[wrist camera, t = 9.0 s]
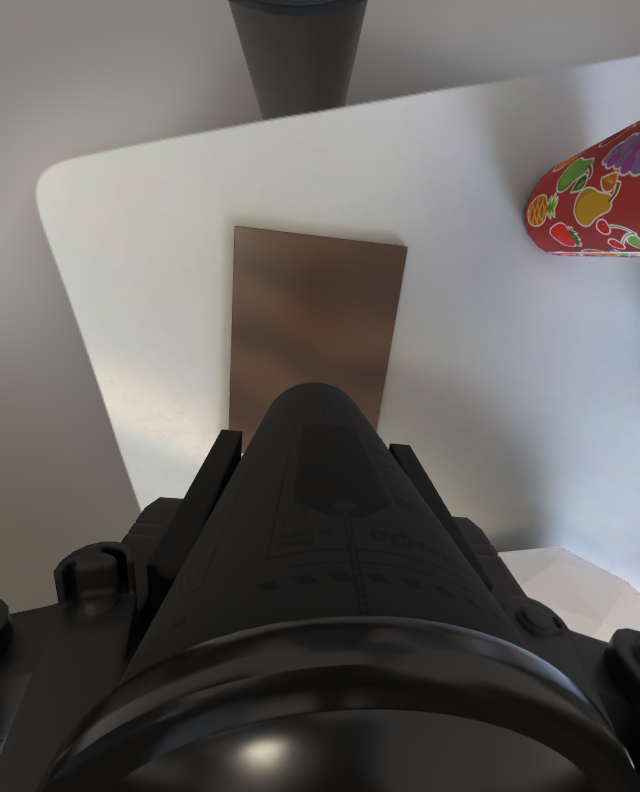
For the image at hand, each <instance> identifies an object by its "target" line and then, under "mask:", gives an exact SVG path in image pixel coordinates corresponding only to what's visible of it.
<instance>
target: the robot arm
mask: <svg viewBox="0 0 640 792" xmlns="http://www.w3.org/2000/svg"><path fill="white" fill-rule="evenodd" d="M389 451H390V452H391V454H392V455H393V457H394V458H395V459H396V461H397V462H398V464H399V465H400V466H401V468H402V469H403V471H404V472H405V473H406V475H407V476H408V478H409V479H410V480H411V482H412V483H413V485H414V486H415V487H416V489H417V490H418V492H419V493H420V494H421V496H422V497H423V499H424V500H425V501H426V503H427V504H428V506H429V507H430V509H431V510H432V511H433V513H434V514H435V516H436V517H437V518H438V520H439V521H440V523H441V524H442V525H443V527H444V528H445V530H446V531H447V532H448V534H449V535H450V537H451V538H452V539H453V541H454V542H455V544H456V545H457V546H458V548H459V549H460V551H461V552H462V553H463V555H464V556H465V558H466V559H467V560H468V562H469V563H470V565H471V566H472V567H473V569H474V570H475V572H476V573H477V574H478V576H479V577H480V579H481V580H482V582H483V583H484V584H485V586H486V587H487V589H488V590H489V591H490V593H491V594H492V596H493V597H494V598H495V600H496V601H497V603H498V604H499V605H500V607H501V608H502V610H503V611H504V612H505V614H506V615H507V617H508V618H509V619H510V621H511V622H512V624H513V625H514V626H515V628H516V629H517V631H518V632H519V633H520V635H521V636H522V638H523V639H524V640H525V642H526V643H527V645H528V646H529V648H530V649H531V650H532V652H533V653H534V655H536V656H538V657H539V658H541V659H543V660H544V661H546V662H548V663H549V664H551V665H552V666H554V667H555V668H556V669H558V670H559V671H560V672H561V673H563V674H564V675H565V676H567V677H568V678H569V679H570V680H571V681H573V682H574V683H575V684H576V685H577V686H578V687H580V689H581V690H582V691H583V692H584V693H585V694H586V695H587V696H588V697H589V698H590V699H591V700H592V701H593V702H594V703H595V705H596V706H597V708H598V709H599V710H600V712H601V713H602V714H603V716H604V717H605V719H606V720H607V721H608V723H609V724H610V726H611V727H612V729H613V730H614V731H615V733H616V734H617V736H618V737H619V739H620V740H621V742H622V743H623V745H624V747H625V748H626V750H627V752H628V754H629V756H630V758H631V760H632V762H633V764H634V767H635V770H636V773H637V776H638V779H639V783H640V631H637V630H633V629H629V628H624V629H617V630H616V632H615V633H614V634H613V635H612V637H611V639H610V641H609V643H608V642H605V641H602V640H599V639H596V638H592V637H589V636H586V635H583V634H580V633H577V632H574V631H572V630H569V629H568V627H567V626H566V624H565V623H564V621H563V620H562V619H561V618H560V617H559V616H558V615H557V614H556V613H555V612H554V611H553V610H552V609H550V608H549V607H547V606H545V605H544V604H542V603H541V602H539V601H537V600H534V599H531V598H529V597H527V595H526V594H525V593H524V591H523V590H522V588H521V587H520V585H519V584H518V582H517V581H516V579H515V578H514V576H513V575H512V573H511V572H510V571H509V569H508V568H507V566H506V565H505V563H504V562H503V560H502V559H501V557H500V556H498V553H497V551H496V550H495V549H494V547H493V546H492V545H490V541H489V540H488V538H487V537H486V535H485V534H484V532H483V531H482V529H480V528H479V527H478V526H477V525H476V524H474V523H473V522H472V521H471V520H469V519H468V518H464V517H452V516H451V514H450V512H449V511H448V509H447V507H446V506H445V504H444V502H443V501H442V499H441V497H440V496H439V494H438V492H437V491H436V489H435V487H434V485H433V484H432V482H431V480H430V479H429V477H428V475H427V474H426V472H425V470H424V469H423V467H422V465H421V464H420V462H419V460H418V459H417V457H416V455H415V454H414V452H413V450H412V449H411V447H410V445H402V444H390V447H389ZM241 454H242V431H233V430H221V432H220V434H219V436H218V437H217V439H216V441H215V443H214V445H213V446H212V448H211V450H210V452H209V454H208V455H207V457H206V459H205V461H204V463H203V464H202V466H201V468H200V470H199V472H198V473H197V475H196V477H195V479H194V481H193V483H192V484H191V486H190V488H189V490H188V492H187V493H186V495H185V497H184V499H178V498H164V497H160V498H158V499H157V500H155V501H154V502H152V503H151V504H150V505H148V506H147V507H145V509H144V510H143V511H142V513H141V514H140V516H139V517H138V519H137V520H136V523H134V524H133V526H132V527H131V529H130V530H129V533H128V534H127V535H126V536H125V537H124V539H123V540H122V542H121V543H119V542H99V543H95V544H91V545H87V546H85V547H83V548H81V549H79V550H76V551H74V552H73V553H71V554H70V555H69V556H68V557H66V558H65V559H63V560H62V561H61V562H60V563H59V565H58V566H57V568H56V569H55V570H54V578H55V584H56V590H57V596H58V603H57V604H54V605H50V606H47V607H42V608H38V609H32V610H28V611H23V612H18V613H13V614H10V613H9V608H8V606H7V605H6V604H5V603H4V602H3V601H2V600H1V599H0V792H35V790H36V788H37V786H38V784H39V782H40V780H41V778H42V776H43V775H44V773H45V771H46V769H47V767H48V765H49V764H50V762H51V760H52V758H53V757H54V755H55V753H56V752H57V750H58V748H59V747H60V745H61V744H62V742H63V741H64V739H65V738H66V737H67V736H68V735H69V733H70V732H71V731H72V730H73V728H74V727H75V726H76V725H77V724H78V722H79V721H80V720H81V719H82V718H83V717H84V716H85V715H86V714H87V713H88V712H89V711H90V710H91V709H92V708H93V707H94V706H95V705H96V704H97V703H98V702H99V701H100V700H102V699H103V698H104V697H105V696H106V695H108V694H109V693H110V692H112V691H113V690H114V689H116V687H117V685H118V683H119V682H120V680H121V678H122V676H123V674H124V672H125V671H126V669H127V667H128V665H129V663H130V661H131V660H132V658H133V656H134V654H135V652H136V650H137V649H138V647H139V645H140V643H141V641H142V639H143V638H144V636H145V634H146V632H147V630H148V628H149V627H150V625H151V623H152V621H153V619H154V617H155V616H156V614H157V612H158V610H159V608H160V606H161V605H162V603H163V601H164V599H165V597H166V595H167V594H168V592H169V590H170V588H171V586H172V584H173V583H174V581H175V579H176V577H177V575H178V573H179V571H180V570H181V568H182V566H183V564H184V562H185V560H186V559H187V557H188V555H189V553H190V551H191V549H192V548H193V546H194V544H195V542H196V540H197V538H198V537H199V535H200V533H201V531H202V529H203V527H204V526H205V524H206V522H207V520H208V518H209V516H210V515H211V513H212V511H213V509H214V507H215V505H216V504H217V502H218V500H219V498H220V496H221V494H222V493H223V491H224V489H225V487H226V485H227V483H228V482H229V480H230V478H231V476H232V474H233V472H234V471H235V469H236V467H237V465H238V463H239V461H240V460H241Z"/></svg>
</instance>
